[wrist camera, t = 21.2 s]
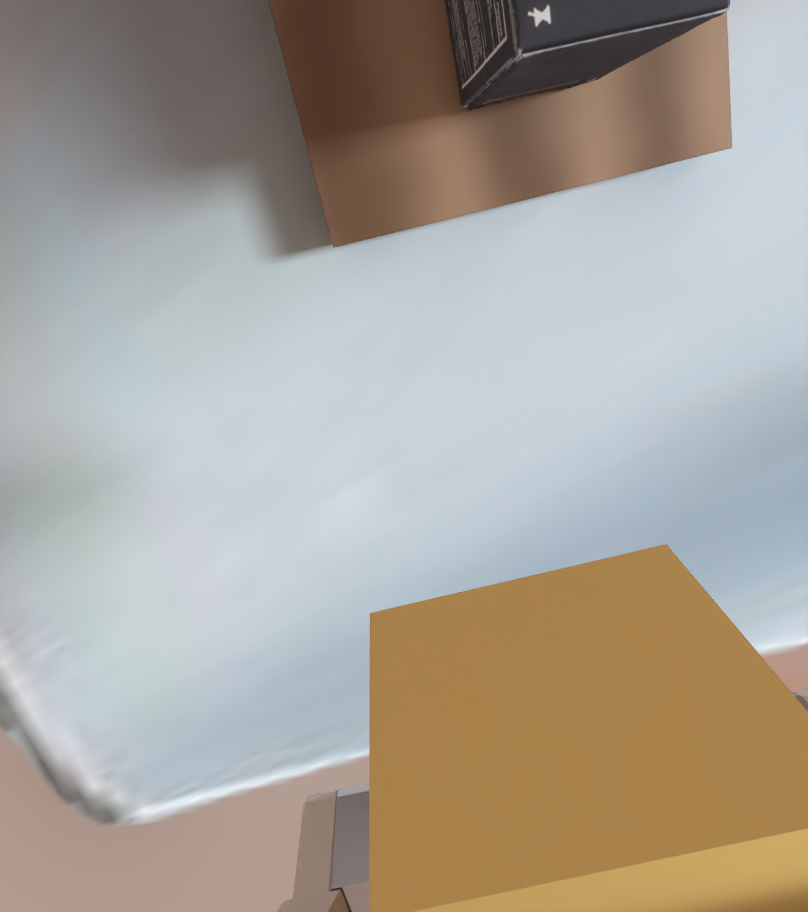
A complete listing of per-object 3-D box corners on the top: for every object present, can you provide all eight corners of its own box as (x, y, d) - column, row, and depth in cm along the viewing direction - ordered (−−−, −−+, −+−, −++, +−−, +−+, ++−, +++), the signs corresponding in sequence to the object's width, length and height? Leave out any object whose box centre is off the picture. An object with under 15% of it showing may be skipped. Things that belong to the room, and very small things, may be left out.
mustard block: (666, 544, 11) (891, 810, 6) (689, 766, 13) (876, 1101, 8) (369, 613, 11) (369, 921, 6) (435, 821, 13) (471, 1177, 8)
